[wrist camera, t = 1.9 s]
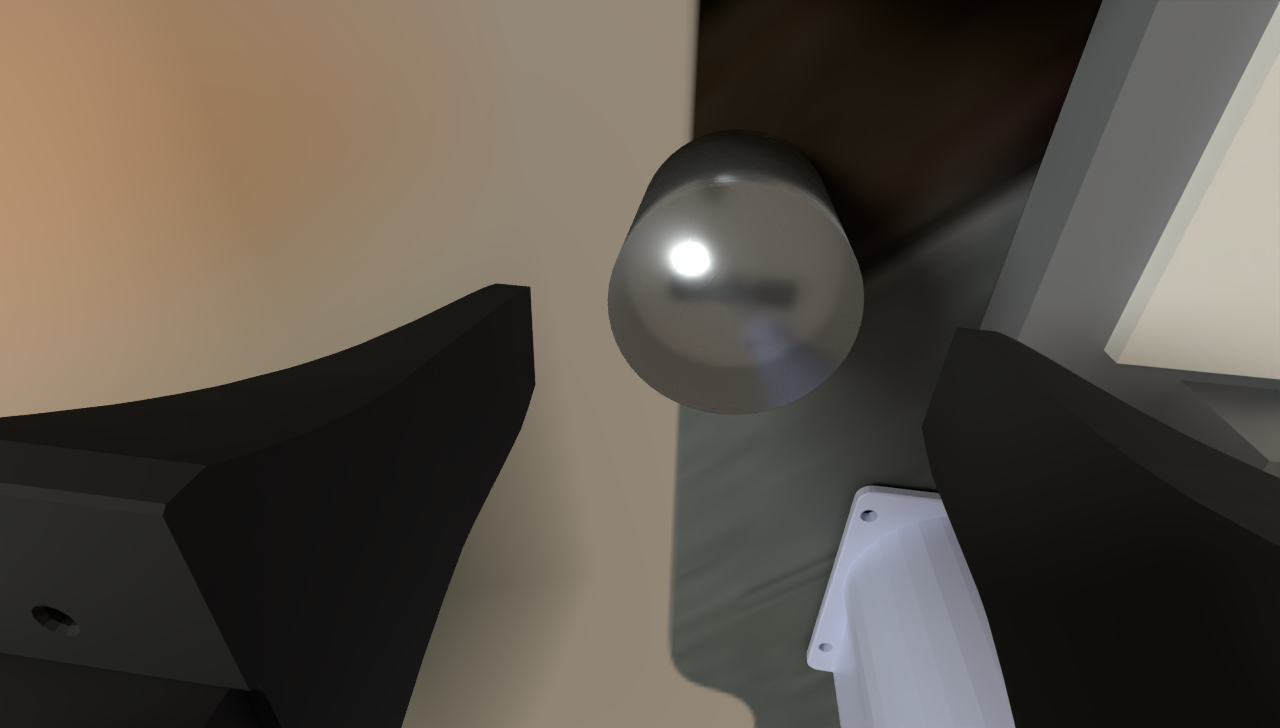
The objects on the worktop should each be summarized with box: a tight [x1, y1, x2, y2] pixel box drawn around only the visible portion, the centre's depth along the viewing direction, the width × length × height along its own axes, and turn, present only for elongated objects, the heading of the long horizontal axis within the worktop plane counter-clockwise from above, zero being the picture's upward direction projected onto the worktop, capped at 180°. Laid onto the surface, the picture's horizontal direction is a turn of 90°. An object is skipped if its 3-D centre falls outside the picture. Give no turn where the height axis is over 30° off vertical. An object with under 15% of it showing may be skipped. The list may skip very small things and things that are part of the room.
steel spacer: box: [608, 130, 864, 415], centre depth 15 cm, size 5×5×5 cm
